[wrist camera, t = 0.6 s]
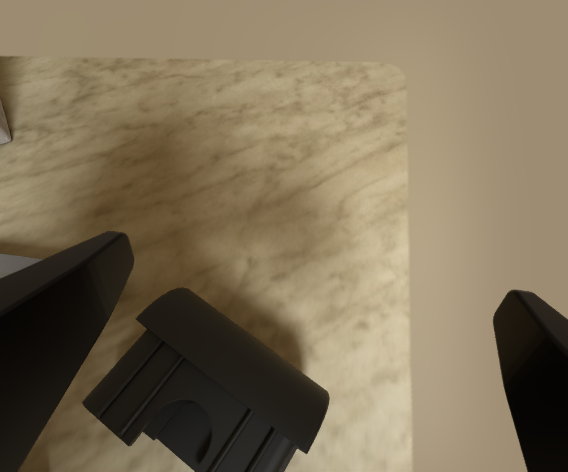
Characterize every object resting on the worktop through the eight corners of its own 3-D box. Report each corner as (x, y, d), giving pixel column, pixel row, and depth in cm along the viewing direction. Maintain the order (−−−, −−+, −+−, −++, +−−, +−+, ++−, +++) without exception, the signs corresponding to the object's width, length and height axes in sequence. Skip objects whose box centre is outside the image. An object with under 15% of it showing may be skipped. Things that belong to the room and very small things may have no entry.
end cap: (317, 397, 22) (343, 389, 16) (249, 515, 19) (250, 561, 13) (195, 306, 24) (178, 269, 18) (116, 400, 21) (63, 393, 15)
